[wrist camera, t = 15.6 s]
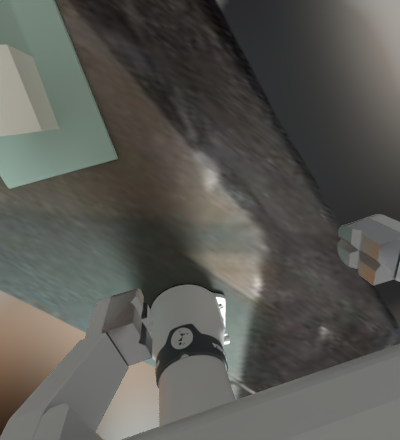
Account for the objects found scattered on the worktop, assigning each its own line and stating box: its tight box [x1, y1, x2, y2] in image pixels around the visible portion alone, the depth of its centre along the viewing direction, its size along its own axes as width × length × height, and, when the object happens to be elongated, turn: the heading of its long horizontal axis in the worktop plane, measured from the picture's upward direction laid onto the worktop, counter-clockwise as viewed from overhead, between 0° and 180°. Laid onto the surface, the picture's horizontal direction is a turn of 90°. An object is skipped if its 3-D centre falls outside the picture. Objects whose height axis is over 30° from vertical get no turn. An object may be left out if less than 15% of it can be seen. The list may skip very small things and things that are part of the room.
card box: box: [0, 44, 59, 136], centre depth 25 cm, size 6×8×5 cm
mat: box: [0, 0, 118, 189], centre depth 28 cm, size 20×16×1 cm
